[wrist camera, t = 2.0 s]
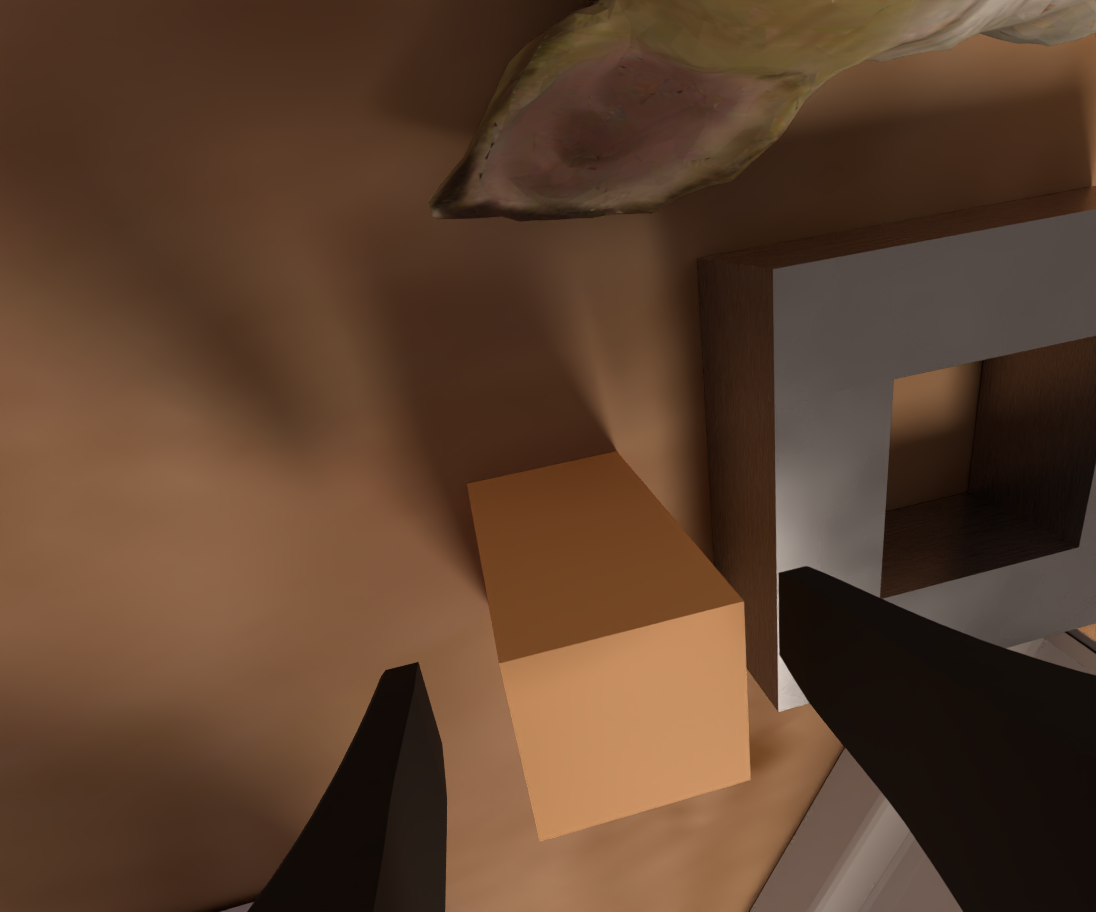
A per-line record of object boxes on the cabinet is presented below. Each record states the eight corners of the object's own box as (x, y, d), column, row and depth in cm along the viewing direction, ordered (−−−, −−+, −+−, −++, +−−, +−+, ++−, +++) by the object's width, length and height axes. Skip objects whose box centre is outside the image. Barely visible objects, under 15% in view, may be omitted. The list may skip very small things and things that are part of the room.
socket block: (717, 629, 19) (778, 711, 16) (696, 258, 15) (772, 269, 12) (1032, 547, 20) (1146, 608, 17) (1093, 186, 16) (1259, 178, 13)
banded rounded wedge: (944, 576, 20) (1433, 855, 12) (1001, 575, 23) (1431, 803, 15) (736, 933, 25) (999, 1295, 17) (804, 897, 28) (1058, 1195, 20)
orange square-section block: (495, 612, 17) (539, 842, 11) (466, 483, 16) (498, 663, 9) (631, 578, 18) (750, 779, 12) (616, 451, 16) (744, 600, 10)
